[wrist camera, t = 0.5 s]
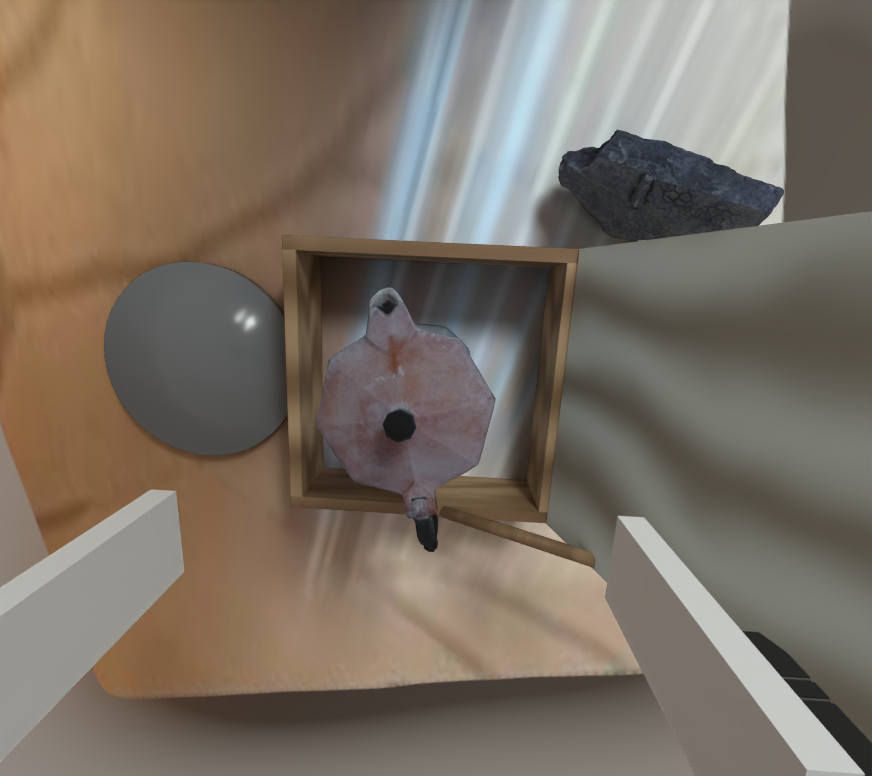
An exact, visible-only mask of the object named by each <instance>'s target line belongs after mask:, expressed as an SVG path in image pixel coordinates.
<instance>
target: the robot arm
mask: <svg viewBox="0 0 872 776" xmlns="http://www.w3.org/2000/svg"><path fill="white" fill-rule="evenodd" d="M183 572H184V562H183V553H182V543H181V534H180V525H179V515H178V506H177V496H176V491H167V490H150V491H148V492H147V493H145V494H143V495H142V496H140V497H139V498H137V499H136V500H134V501H133V502H131V503H130V504H128V505H126V506H125V507H123V508H122V509H120V510H119V511H117V512H116V513H114V514H113V515H111V516H110V517H108V518H106V519H105V520H103V521H102V522H100V523H99V524H97V525H96V526H94V527H93V528H91V529H89V530H88V531H86V532H85V533H83V534H82V535H80V536H79V537H77V538H76V539H74V540H72V541H71V542H69V543H68V544H66V545H65V546H63V547H62V548H60V549H59V550H57V551H56V552H54V553H52V554H51V555H49V556H48V557H46V558H45V559H43V560H42V561H40V562H39V563H37V564H36V565H34V566H32V567H31V568H29V569H28V570H26V571H25V572H23V573H22V574H20V575H18V576H17V577H15V578H14V579H12V580H11V581H9V582H8V583H6V584H5V585H3V586H1V587H0V762H1V761H2V760H3V759H4V758H5V757H6V756H7V755H8V754H9V753H10V752H11V750H12V749H13V748H14V747H15V746H16V745H17V744H18V743H19V742H20V741H21V740H22V739H23V738H24V737H25V736H26V735H27V734H28V733H29V732H30V731H31V730H32V729H33V728H34V727H35V726H36V725H37V724H38V722H39V721H41V719H42V718H43V717H44V716H45V715H46V714H47V713H48V712H49V711H50V710H51V709H52V708H53V707H54V706H55V705H56V704H57V703H58V702H59V701H60V700H61V699H62V698H63V697H64V696H65V695H66V694H67V693H68V691H69V690H70V689H71V688H72V687H73V686H74V685H75V684H76V683H77V682H78V681H79V680H80V679H81V678H82V677H83V676H84V675H85V674H86V673H87V672H88V671H89V670H90V669H91V668H92V667H93V666H94V665H95V664H96V663H97V662H98V660H99V659H100V658H101V657H102V656H103V655H104V654H105V653H106V652H107V651H108V650H109V649H110V648H111V647H112V646H113V645H114V644H115V643H116V642H117V641H118V640H119V639H120V638H121V637H122V636H123V635H124V634H125V633H126V631H127V630H128V629H129V628H130V627H131V626H132V625H133V624H134V623H135V622H136V621H137V620H138V619H139V618H140V617H141V616H142V615H143V614H144V613H145V612H146V611H147V610H148V609H149V608H150V607H151V606H152V605H153V604H154V603H155V601H156V600H157V599H158V598H159V597H160V596H161V595H162V594H163V593H164V592H165V591H166V590H167V589H168V588H169V587H170V586H171V585H172V584H173V583H174V582H175V581H176V580H177V579H178V578H179V577H180V576H181V575H182V574H183ZM605 598H606V600H607V602H608V604H609V606H610V608H611V610H612V612H613V614H614V616H615V618H616V620H617V622H618V624H619V626H620V628H621V630H622V632H623V634H624V636H625V638H626V640H627V642H628V644H629V646H630V648H631V650H632V652H633V654H634V656H635V658H636V660H637V662H638V664H639V666H640V668H641V670H642V672H643V674H644V676H645V678H646V679H647V681H648V683H649V685H650V687H651V689H652V691H653V693H654V695H655V697H656V699H657V701H658V703H659V705H660V707H661V709H662V711H663V713H664V715H665V717H666V719H667V721H668V723H669V725H670V727H671V729H672V731H673V733H674V735H675V737H676V739H677V741H678V743H679V745H680V747H681V749H682V751H683V753H684V755H685V757H686V758H687V761H688V762H689V765H690V767H691V769H692V771H693V772H694V774H695V776H872V743H871V742H870V740H869V739H868V738H867V737H866V736H865V735H864V734H863V733H862V732H861V731H860V730H859V729H858V728H857V727H856V726H855V724H854V723H853V722H852V721H851V720H850V719H849V718H848V717H847V716H846V715H845V714H844V713H843V712H842V711H841V709H840V708H839V707H838V706H837V705H836V704H834V703H831V701H830V698H829V697H828V696H827V695H826V693H825V692H824V691H823V690H822V689H821V688H820V687H819V686H818V685H817V684H816V683H815V682H812V681H811V679H810V676H809V675H808V674H807V673H806V672H805V671H804V670H803V669H802V668H801V667H800V666H799V665H798V664H797V662H796V661H795V660H794V659H793V658H792V657H791V656H790V655H789V654H788V653H787V652H786V651H784V650H783V649H782V648H780V647H779V646H777V645H776V644H775V643H773V642H772V641H771V640H769V639H768V638H766V637H765V636H764V635H762V634H761V633H759V632H751V631H741V629H740V628H739V627H738V626H737V625H736V624H735V622H734V621H733V620H732V619H731V618H730V617H729V615H728V614H727V613H726V612H725V611H724V610H723V609H722V607H721V606H720V605H719V604H718V603H717V602H716V600H715V599H714V598H713V597H712V596H711V595H710V593H709V592H708V591H707V590H706V589H705V588H704V586H703V585H702V584H701V583H700V582H699V581H698V579H697V578H696V577H695V576H694V575H693V574H692V572H691V571H690V570H689V569H688V568H687V567H686V565H685V564H684V563H683V562H682V561H681V560H680V559H679V557H678V556H677V555H676V554H675V553H674V552H673V550H672V549H671V548H670V547H669V546H668V545H667V543H666V542H665V541H664V540H663V539H662V538H661V536H660V535H659V534H658V533H657V532H656V531H655V529H654V528H653V527H652V526H651V525H650V524H649V522H648V521H647V520H646V519H645V518H644V517H629V516H617V522H616V529H615V536H614V542H613V549H612V555H611V562H610V569H609V575H608V582H607V588H606V595H605Z"/></svg>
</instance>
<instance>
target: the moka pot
mask: <svg viewBox="0 0 872 776" xmlns="http://www.w3.org/2000/svg"><path fill="white" fill-rule="evenodd" d="M495 399H496V398H495V397H494V395H493V394H492V392H491V391H490V389H489V387H488V386H487V384H486V382H485V380H484V379H483V377H482V375H481V374H480V372H479V370H478V368H477V367H476V365H475V363H474V362H473V360H472V358H471V357H470V352H469V349H468V347H467V346H466V345H465V344H464V343H463V342H462V341H461V340H460V339H459V338H458V337H457V336H456V335H455V334H453V332H451V331H450V330H449V329H447V328H446V327H441V326H436V325H426V324H415V323H414V322H413V320H412V318H411V316H410V313H409V311H408V309H407V308H406V306H405V304H404V302H403V300H402V298H401V297H400V296H399V294H398V293H397V292H396V291H395V290H394V289H393V288H390V287H389V288H386V289H381V290H379V291H378V292H376V294H375V295H374V296H373V297H372V298H371V300H370V303H369V315H368V324H367V331H366V335H365V336H363V337H362V338H360V339H359V340H358V341H356V342H355V343H353V344H351V345H350V346H348V347H346V348H345V349H343V350H342V351H340V352H338V353H337V354H335V355H333V356H332V357H331V358H330V360H329V363H328V367H327V372H326V377H325V382H324V387H323V392H322V398H321V403H320V408H319V413H318V418H317V427H318V429H319V430H320V432H321V433H322V435H323V436H324V438H325V440H326V441H327V443H328V444H329V446H330V447H331V449H332V450H333V452H334V453H335V455H336V456H337V458H338V459H339V461H340V462H341V464H342V465H343V467H344V468H345V470H346V471H347V473H348V474H349V476H350V477H351V478H352V479H353V480H354V481H355V482H358V483H360V484H363V485H367V486H372V487H376V488H380V489H383V490H388V491H392V492H395V493H398V494H400V495H402V497H403V500H404V506H405V511H406V514H407V517H408V518H414V521H415V524H416V531H417V537H418V539H419V542H420V543H421V544H422V545H424V549H426V550H427V551H428V552H434V551H435V549H436V548H437V546H438V540H437V532H438V516H437V511H438V507H437V501H436V496H435V493H436V489H438V488H439V487H441V486H442V485H444V484H445V483H447V482H449V481H451V480H453V479H454V478H456V477H458V476H460V475H462V474H464V473H465V472H467V471H469V470H471V469H472V468H474V467H475V466H477V465H478V464H479V461H480V457H481V454H482V450H483V446H484V443H485V439H486V435H487V431H488V427H489V424H490V420H491V417H492V413H493V409H494V404H495Z"/></svg>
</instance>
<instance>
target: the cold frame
mask: <svg viewBox="0 0 872 776" xmlns="http://www.w3.org/2000/svg"><path fill="white" fill-rule="evenodd" d="M282 255H283V284H284V314H285V344H286V374H287V403H288V433H289V463H290V492H291V507H302V508H318V509H333V510H349V511H365V512H380V513H396V514H406V511H405V506H404V500H403V497H402V495H400V494H398V493H395V492H392V491H388V490H383V489H380V488H376V487H372V486H367V485H363V484H360V483H358V482H355V481H354V480H353V479H352V478H351V477H350V476H349V474H348V473H347V471H346V470H345V469H335V468H324V459H323V435H322V433H321V432H320V430H319V429H318V427H317V418H318V413H319V408H320V403H321V398H322V392H323V387H322V314H321V257H335V258H356V259H377V260H398V261H419V262H440V263H461V264H482V265H503V266H524V267H545V268H549V271H548V281H547V290H546V300H545V309H544V319H543V328H542V338H541V347H540V357H539V366H538V376H537V385H536V394H535V404H534V413H533V423H532V432H531V442H530V451H529V461H528V470H527V480H514V479H498V478H482V477H465V476H458V477H456V478H454V479H453V480H451V481H449V482H447V483H445V484H444V485H442V486H441V487H439V488H438V489H436V493H435V496H436V501H437V507H438V511H437V516H441V517H443V518H446V519H449V520H452V521H455V522H458V523H461V524H464V525H467V526H470V527H473V528H476V529H479V530H482V531H485V532H488V533H491V534H494V535H497V536H500V537H503V538H506V539H509V540H512V541H515V542H518V543H521V544H524V545H527V546H530V547H533V548H536V549H539V550H542V551H545V552H548V553H551V554H554V555H557V556H560V557H563V558H566V559H569V560H572V561H575V562H578V563H581V564H584V565H587V566H590V567H592V568H593V569H594V570H595V571H596V572H597V573H598V574H599V575H600V576H601V577H602V578H603V579H604V580H605V581H606V582H608V575H609V569H610V562H611V555H612V549H613V542H614V536H615V529H616V522H617V516H629V517H644V518H645V519H646V520H647V521H648V522H649V524H650V525H651V526H652V527H653V528H654V529H655V531H656V532H657V533H658V534H659V535H660V536H661V538H662V539H663V540H664V541H665V542H666V543H667V545H668V546H669V547H670V548H671V549H672V550H673V552H674V553H675V554H676V555H677V556H678V557H679V559H680V560H681V561H682V562H683V563H684V564H685V565H686V567H687V568H688V569H689V570H690V571H691V572H692V574H693V575H694V576H695V577H696V578H697V579H698V581H699V582H700V583H701V584H702V585H703V586H704V588H705V589H706V590H707V591H708V592H709V593H710V595H711V596H712V597H713V598H714V599H715V600H716V602H717V603H718V604H719V605H720V606H721V607H722V609H723V610H724V611H725V612H726V613H727V614H728V615H729V617H730V618H731V619H732V620H733V621H734V622H735V624H736V625H737V626H738V627H739V628H740V629H741V631H751V632H759V633H761V634H762V635H764V636H765V637H766V638H768V639H769V640H771V641H772V642H773V643H775V644H776V645H777V646H779V647H780V648H782V649H783V650H784V651H786V652H787V653H788V654H789V655H790V656H791V657H792V658H793V659H794V660H795V661H796V662H797V664H798V665H799V666H800V667H801V668H802V669H803V670H804V671H805V672H806V673H807V674H808V675H809V676H810V679H811V681H812V682H815V683H816V684H817V685H818V686H819V687H820V688H821V689H822V690H823V691H824V692H825V693H826V695H827V696H828V697H829V698H830V701H831V703H834V704H836V705H837V706H838V707H839V708H840V709H841V711H842V712H843V713H844V714H845V715H846V716H847V717H848V718H849V719H850V720H851V721H852V722H853V723H854V724H855V726H856V727H857V728H858V729H859V730H860V731H861V732H862V733H863V734H864V735H865V736H866V737H867V738H868V739H869V740H870V742H871V743H872V211H871V212H863V213H855V214H848V215H840V216H832V217H824V218H816V219H809V220H801V221H793V222H785V223H777V224H769V225H762V226H754V227H746V228H738V229H730V230H723V231H715V232H707V233H699V234H691V235H683V236H676V237H668V238H660V239H652V240H644V241H637V242H629V243H621V244H613V245H605V246H598V247H590V248H582V249H569V248H548V247H526V246H504V245H483V244H461V243H440V242H418V241H397V240H375V239H353V238H332V237H310V236H289V235H282ZM493 520H505V521H520V522H536V523H546V524H547V525H548V526H549V527H550V528H551V529H552V530H553V531H554V532H555V533H556V534H557V535H559V536H560V537H561V538H562V539H563V540H564V541H565V542H566V543H567V544H566V543H562V542H559V541H556V540H553V539H550V538H547V537H543V536H540V535H537V534H534V533H531V532H528V531H524V530H521V529H518V528H515V527H512V526H509V525H506V524H502V523H499V522H496V521H493Z"/></svg>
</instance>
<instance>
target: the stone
mask: <svg viewBox="0 0 872 776" xmlns="http://www.w3.org/2000/svg"><path fill="white" fill-rule="evenodd" d="M558 178H559V181H560V184H561V185H562V186H563V187H565V188H567V189H569V190H570V191H571V192H572V193H573V194H574V196H575V197H576V198H577V199H578V200H579V202H580V203H581V204H582V206H583V207H584V208H585V209H586V210H587V211H588V212H589V213H590V214H591V215H593V216H594V217H595V218H597V219H599V221H600V223H601V226H602V229H603V230H604V231H605V232H607V233H608V234H609V235H611V236H614V237H618V238H625V239H628V240H631V241H638V240H652V239H660V238H668V237H676V236H683V235H691V234H699V233H707V232H715V231H723V230H730V229H738V228H746V227H754V226H759V225H760V224H761V223H762V221H763V220H765V219H766V218H767V217H768V216H769V215H770V214H771V213H772V211H773V209H774V208H775V207H776V206H777V204H778V202H779V201H780V199H781V197H782V195H783V194H784V190H783V189H782V188H780V187H776V186H774V185H772V184H767V183H764V182H763V181H759V180H755V179H752V178H750V177H747V176H743V175H741V174H739V173H737V172H736V171H735V170H733V169H731V168H729V167H728V166H724V165H719V164H715V163H713V160H711V159H710V158H707V157H705V156H702V155H698V154H695V153H693V152H690V151H686V150H684V149H683V148H679V147H676V146H673V145H672V144H670V143H668V142H666V141H660V140H650V139H643V138H641V137H639V136H637V135H633V134H630V133H628V132H625V131H621V130H616V131H615V133H614V135H613V136H612V137H611V138H610V140H608V141H606V142H605V143H604V144H602V145H601V147H600V148H595V147H588V148H583V149H581V150H578V151H568V152H567V153H566V154H565V155H563V157H562V162H561V163H560V167H559V177H558Z"/></svg>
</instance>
